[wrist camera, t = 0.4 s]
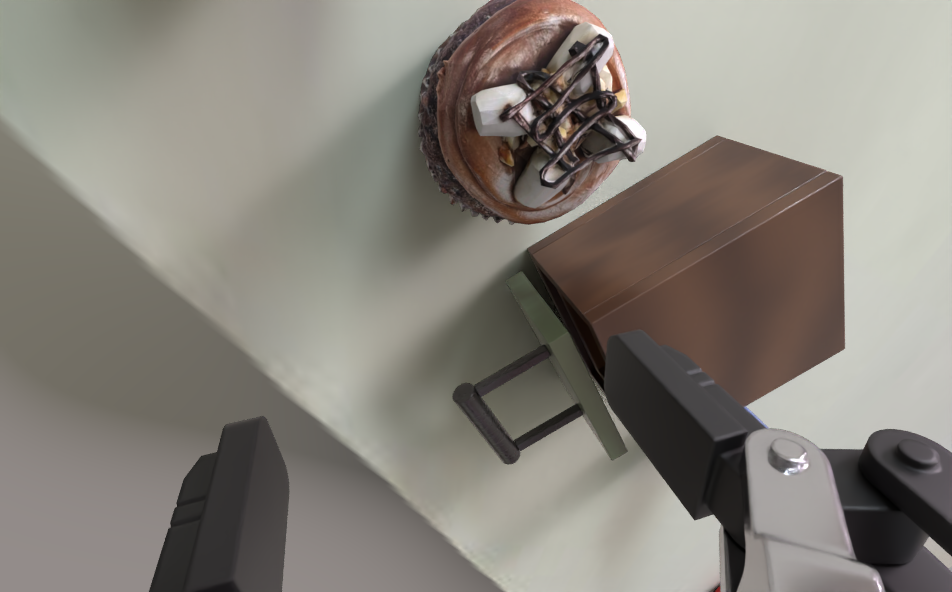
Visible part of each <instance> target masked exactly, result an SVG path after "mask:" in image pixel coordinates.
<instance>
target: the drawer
mask: <svg viewBox="0 0 952 592" xmlns="http://www.w3.org/2000/svg"><path fill="white" fill-rule="evenodd" d="M506 283H507V285H508V287H509V288H510V290H511V292H512V294H513V295H514V297H515V299H516V301H517V303H518V304H519V306H520V308H521V310H522V312H523V313H524V315H525V317H526V319H527V320H528V322H529V324H530V326H531V328H532V329H533V331H534V333H535V335H536V337H537V338H538V340H539V342H540V344H541V345H542V346H540V347H538V348H537V349H535V350H533V351H532V352H530V353H528V354H526V355H525V356H523V357H521V358H520V359H518V360H516V361H515V362H513V363H511V364H509V365H508V366H506V367H504V368H503V369H501V370H499V371H498V372H496V373H494V374H493V375H491V376H489V377H487V378H486V379H484V380H482V381H481V382H479V383H477V384H476V385H474V386H473V385H472V384H470V383H464V384H461V385H460V386H458V387H457V388H456V389H455V391H454V393H453V400H454V401H455V403H456V404H457V405H458V406H459V408H460V409H461V410H462V412H463V413H464V414H465V415H466V417H467V418H468V419H469V420H470V422H471V423H472V424H473V425H474V427H475V428H476V429H477V430H478V432H479V433H480V434H481V435H482V437H483V438H484V439H485V440H486V442H487V443H488V444H489V445H490V447H491V448H492V449H493V450H494V452H495V453H496V454H497V455H498V457H499V458H500V459H501V460H502V462H503V463H505V464H513V463H515V462H516V461H517V460H518V459H519V457H520V451H521V450H523V449H525V448H527V447H528V446H530V445H532V444H534V443H535V442H537V441H539V440H540V439H542V438H544V437H546V436H547V435H549V434H551V433H552V432H554V431H556V430H558V429H559V428H561V427H563V426H564V425H566V424H568V423H570V422H571V421H573V420H575V419H576V418H578V417H580V416H582V415H583V417H584V418H585V420H586V421H587V423H588V424H589V426H590V428H591V429H592V431H593V432H594V434H595V435H596V437H597V438H598V440H599V442H600V443H601V445H602V446H603V448H604V449H605V451H606V452H607V454H608V456H609V457H610V459H611V460H612V461H613V460H615V459H616V458H618V457H620V456H621V455H623V454H625V453H627V452H628V450H627V448H626V446H625V444H624V442H623V440H622V438H621V436H620V434H619V432H618V430H617V428H616V426H615V424H614V422H613V420H612V418H611V416H610V414H609V412H608V410H607V408H606V406H605V404H604V402H603V400H602V398H601V396H600V394H599V392H598V390H597V388H596V386H595V384H594V382H593V380H592V378H591V376H590V374H589V372H588V370H587V368H586V366H585V364H584V362H583V360H582V358H581V356H580V354H579V352H578V350H577V348H576V346H575V344H574V342H573V340H572V338H571V336H570V334H569V332H568V331H567V330H566V328H565V327H564V326H563V324H562V323H561V322H560V320H559V319H558V318H557V316H556V315H555V314H554V312H553V311H552V310H551V309H550V307H549V306H548V305H547V303H546V302H545V301H544V299H543V298H542V297H541V295H540V294H539V293H538V292H537V290H536V289H535V288H534V286H533V285H532V284H531V282H530V281H529V280H528V278H527V277H526V276H525V275H524V273H523V272H522V271H521V272H519V273H517V274H516V275H514V276H512V277H511V278H509V279H507V280H506ZM557 291H558V290H557ZM558 293H559V295H560V297H561V299H562V301H563V303H564V305H565V307H566V309H567V311H568V313H569V316H570V318H571V320H572V322H573V324H574V326H575V328H576V330H577V332H578V334H579V336H580V338H581V340H582V342H583V345H584V347H585V349H586V351H587V353H588V355H589V357H590V359H591V361H592V363H593V365H594V367H595V369H596V371H597V372H598V373H599V375H600V376H601V377H602V379H603V380H604V376H605V361H604V359H603V357H602V355H601V353H600V350H599V348H598V346H597V344H596V342H595V340H594V337H593V335H592V333H591V331H590V329H589V327H588V325H587V324H586V323H585V322H584V321H583V319H582V318H581V317H580V316H579V315H578V314H577V312H576V311H575V310H574V309H573V308H572V306H571V305H570V304H569V303H568V302H567V300H566V299H565V298H564V297H563V296H562V295H561V293H560V292H559V291H558ZM547 358H549V360H550V362H551V363H552V365H553V367H554V369H555V371H556V372H557V374H558V376H559V378H560V379H561V381H562V383H563V385H564V387H565V388H566V390H567V392H568V393H569V395H570V396H571V398H572V400H573V401H574V403H575V405H573V406H572V407H570V408H568V409H567V410H565V411H563V412H561V413H560V414H558V415H556V416H555V417H553V418H551V419H549V420H548V421H546V422H544V423H543V424H541V425H539V426H537V427H536V428H534V429H532V430H531V431H529V432H527V433H525V434H524V435H522V436H520V437H519V438H517V439H515V440H514V441H515V442H514V441H513V439H512V438H511V437H510V435H509V434H508V432H507V431H506V430H505V428H504V427H503V426H502V424H501V423H500V422H499V420H498V419H497V418H496V416H495V415H494V413H493V412H492V411H491V409H490V408H489V407H488V405H487V404H486V403H485V401H484V400H483V398H482V396H484V395H485V394H487V393H489V392H491V391H492V390H494V389H496V388H497V387H499V386H501V385H502V384H504V383H506V382H508V381H509V380H511V379H513V378H514V377H516V376H518V375H519V374H521V373H523V372H525V371H526V370H528V369H530V368H531V367H533V366H535V365H536V364H538V363H540V362H542V361H543V360H545V359H547ZM474 387H475V388H474Z"/></svg>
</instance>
